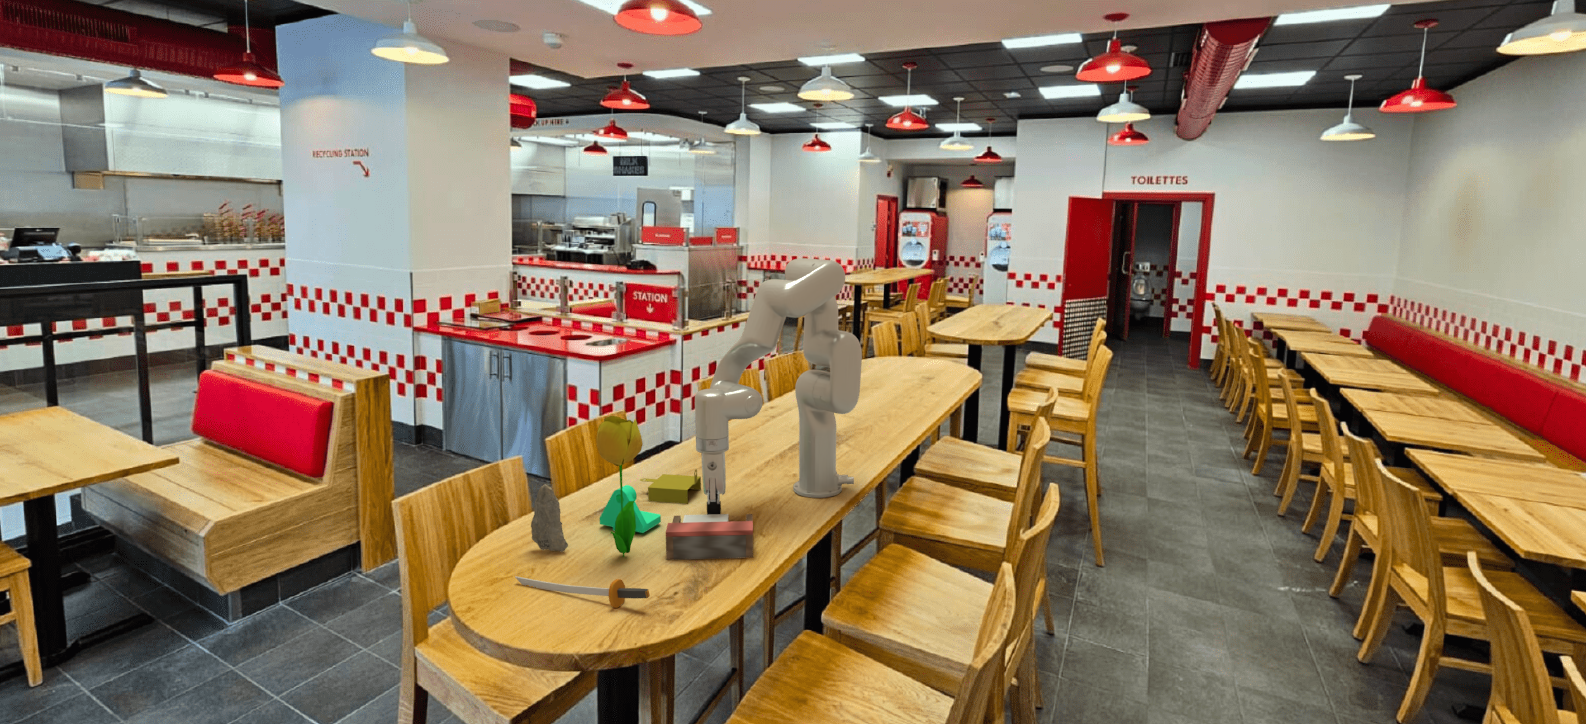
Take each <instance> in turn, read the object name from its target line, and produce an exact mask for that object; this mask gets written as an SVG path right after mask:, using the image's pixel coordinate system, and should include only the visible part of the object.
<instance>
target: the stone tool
mask: <svg viewBox="0 0 1586 724" xmlns="http://www.w3.org/2000/svg"><path fill="white" fill-rule="evenodd" d="M536 495H537V496H536V498H535V500H534V504H533V509H534V510H533V517H532V520H531V522H530V523H531V524H530V528H531V531H530V532H531V539H532V541H533V542H534V543H535V544H537V546H538V548H539V549H540V550H541V551H546V550H549V551H551V552H556V551H557V552H560V553H564V552H565V551H566V549H567V548H568V547H569V544H568V542H567V540H566V539H565V535H564V531H563V526H562V525H563V522H562V521H561V513H562V512H561V506H560V501H559V498H558V497H557V496H556V495H555V492H554V490H553V488H552V487H551V486H550V485H548V484H546V483H544V484H543V485H541V486H540V487H539V489H538V491H537V494H536Z"/></svg>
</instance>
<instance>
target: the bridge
mask: <svg viewBox="0 0 1586 724" xmlns="http://www.w3.org/2000/svg"><path fill="white" fill-rule="evenodd" d="M681 519H682V518H681V515H673V518H672V522H667V526H666V529H665V549H666V550H665V553H666V554H665V555H666V556H665V558H666V559H665V560H675V561H676V560H680V561H681V560H705V559H706V560H710V559H711V560H713V559H714V560H715V559H717V560H719V559H746V558H754V524H753V522H754V521H753V519H754V518H753V513H746V514H745V520H744V521H742V520H740V521H738V520H737V521H736V520H733V521H732V520H731V521H729V522H688V523H683V522H681V521H682V520H681Z"/></svg>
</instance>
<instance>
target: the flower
mask: <svg viewBox="0 0 1586 724" xmlns="http://www.w3.org/2000/svg"><path fill="white" fill-rule="evenodd" d="M596 447H597V450H598V454H599V456H600V457H601V458H602V459H603V460H605V461H606V462H608V463H611V464H612V465H614V466H617V467H618V468H619V469H618V471H619V485H620V487H619V488H620V491H621V511H620V512H619V514H618V516H617V518H616V521H615V531H613V530H611V531H610V535H611V534H612V537H613V540H614V545H615V548H616V549H617V551H618V552H619V553H621V554H622V557H623V558H625V556H626V555H625V554H627V553H628V554H629V553H631V547H632V543H633V539H634V537H635V534H636V531H635V530H636V518H635V513H634V505H633V503H634V501H629V502H628V503H627V504H626V505H625V506H624V508H623V495H622V487H623V466H624V465H625V464H627V463H629V462H631V461H633V460H634V459H635V458H636V457H637V456H638V455H639V454H640V453H641V452H642V448H643V439H642V435H641V432H640V429H639V425H638V422H637V419H636V418H635V419H634V420H631V419H624V418H621V417H620V416H616V415H610V416H607V417H605V418H604V419H603V421H602V422H601V423H600V424H599V425H598V428H597V434H596Z"/></svg>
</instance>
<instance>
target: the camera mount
mask: <svg viewBox="0 0 1586 724" xmlns="http://www.w3.org/2000/svg"><path fill="white" fill-rule="evenodd" d="M636 491H637V490H636V489H635V488H634V487H633V486H631V485H629V484H625V485H622V495H623V508H624V506H625V505H626V504H627V503H628V502H629V501H634V503H633V505H634V513H635V518H636V530H635V533H640V534H641V533H642V534H644V533H645V532H647V531H649V530H651V529H653V528H654V527H655V526H657V525H658V524H660V523H662V516H661V515H662V514H660V513H655V512H650V511H645V510H641V509H640V508H639V506H638V505H637V502H636V500H637V496H638V495H637V492H636ZM620 511H621V491H620V487H619V488H617V489H615V490H614V491H613V492H612V494H611V496H610V497H609V499H608V501H607V503H606V505H605V506H604V508H603V510H602V512H601V514H600V516H599V519H598V520H599V525H603V526H606V527H607V526H608V527H611V528H612V532H615V521H616V518H617V516H618V514H619V512H620Z"/></svg>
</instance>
